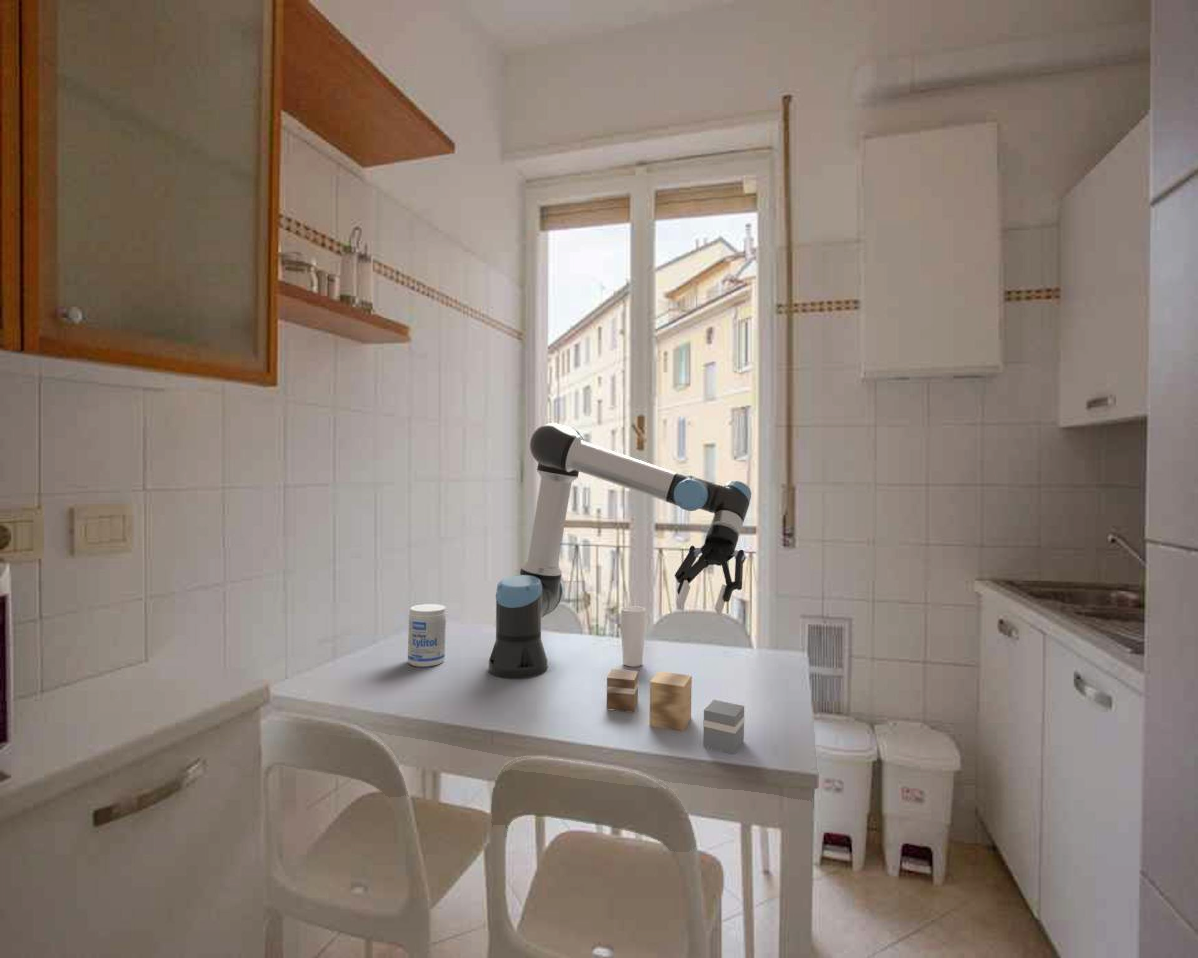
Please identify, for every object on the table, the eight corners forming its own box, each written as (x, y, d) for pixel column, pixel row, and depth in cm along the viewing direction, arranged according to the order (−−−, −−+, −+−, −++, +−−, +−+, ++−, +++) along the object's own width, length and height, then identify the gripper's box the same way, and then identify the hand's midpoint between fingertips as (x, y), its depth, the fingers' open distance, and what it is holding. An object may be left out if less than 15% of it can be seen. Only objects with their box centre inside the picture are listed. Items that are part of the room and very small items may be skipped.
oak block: (649, 725, 122) (650, 681, 122) (658, 712, 129) (659, 671, 129) (683, 731, 120) (683, 686, 120) (691, 718, 126) (691, 675, 126)
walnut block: (606, 709, 130) (606, 677, 130) (611, 699, 136) (611, 668, 136) (634, 712, 129) (634, 680, 129) (638, 701, 135) (638, 670, 135)
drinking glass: (637, 670, 156) (638, 612, 156) (615, 665, 160) (616, 609, 160) (649, 663, 162) (650, 607, 162) (627, 658, 166) (628, 604, 165)
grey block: (702, 746, 113) (703, 709, 113) (713, 734, 118) (714, 699, 118) (734, 754, 110) (735, 716, 110) (744, 741, 115) (744, 705, 115)
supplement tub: (409, 669, 154) (410, 612, 154) (406, 658, 163) (406, 604, 163) (448, 665, 158) (448, 609, 158) (442, 655, 167) (443, 602, 166)
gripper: (769, 546, 146) (747, 625, 133) (688, 539, 157) (660, 612, 144) (763, 525, 141) (740, 605, 128) (680, 520, 153) (650, 593, 139)
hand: (698, 609), depth 136 cm, fingers open, 9 cm apart
